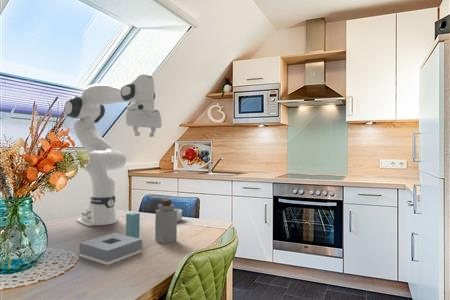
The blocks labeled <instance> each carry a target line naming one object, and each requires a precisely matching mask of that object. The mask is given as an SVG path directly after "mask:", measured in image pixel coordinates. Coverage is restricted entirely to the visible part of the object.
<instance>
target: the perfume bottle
mask: <svg viewBox="0 0 450 300" xmlns="http://www.w3.org/2000/svg"><path fill="white" fill-rule="evenodd" d="M160 203H161V204H157V207H158V209H155V219H154V220H155V221H154V222H155V227H154V228H155V230H154V231H155V234H154V236H155V237H154V240H155V241H156V242H158V243H159V244H162V245H165V244H170V243H174V242H177V240H178V239H177V233H178V231H177V228H178V227H177V225H178V224H177V223H178V222H177V210H174V209H175V205H174V204H172V199H168V198H167V199H161V200H160Z"/></svg>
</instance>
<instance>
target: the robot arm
mask: <svg viewBox="0 0 450 300" xmlns="http://www.w3.org/2000/svg"><path fill="white" fill-rule="evenodd" d="M155 99H156V92H155V81H154V78H153V77H152V76H151V75H148V74H144V73H143V74H142V73H138V74H137V75H136V76H135V78H134V79H132V80H130V81H129V82H125V83H123V85H122V86H121V88H119V87H116V86H113V85H109V84H104V83H95V84H91V85H88V86H86V87H84V89H83V91H82V93H81V96H78V95H75V96H73V97H72V98H70V99H68V100H67V101H66V102H65V103H64V108H65V109H64V108H63V109H64V113H65V115H66V116H67V117H69V118H71V119H76V121H75V123H74V124H73V128H74V132H75V135H76V137H77V139H78V140H79V143H80V144H81V145H82V147H83V149H84V150H85V152H88V154H89V157H90V163H89V164H88V165H87V166H86V167H85V168H82V169H83V170H84V171H85V172H87V174H88V175H89V177H90V179H91V184H92V196H90V197H89V200H90V202H89V204H88V205H87V206H86V207H85V208H83V210H82V212H81V217H79V218H78V219H76V222H78V223H80V224H81V225H85V226H88V227H91V226H93V227H94V226H108V225H113V224H115V223H117V222H118V220H119V216H118V214H117V205H116V199H117V198H116V195H115V193H116V192H115V191H116V190H115V187H116V186H115V185H116V183H115V180H114V179H113V178H111V177H109V176H108V173H107V171H115V170H119V169H122V168H123V167H125V165H126V162H127V158H126V155H125V154H124V152H122V151H120V150H118V149H116V148H114V146H111V144H109V143H108V142H107V141H106V140H105V139H104V138H103V136H102V134H101V133H100V132H99V130H98V129H97V127H96V125H95V124H96V123H97V124H98V123H99V122H100V120H102V119H103V118H104V116H105V114H106V108H105V105H110V104H117V103H124V102H125V103H132V104H129V105H127V106H126V110H127V111H126V115H125V124H126V125H127V126H128V127H132V130H133V132H134V136H135V137H140V136H141V132H140V131H139V128H150V131H151V132H150V133H149V135H148V136H149V138H154V137H155V132H156V130H157V129H160V128H162V118H161V117H162V116H161V112H160V111H159V110H158V109H155ZM77 119H78V120H77Z"/></svg>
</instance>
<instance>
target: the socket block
mask: <svg viewBox="0 0 450 300" xmlns="http://www.w3.org/2000/svg"><path fill="white" fill-rule="evenodd" d="M140 253H143V238H140V237H139V238H135V237H130V236H126V234H120V233H118V232H117V233H116V232H113V233H109V234H106V235H103V236H99V237H95V238H91V239H88V240H84V241H81V242H79V257H81V258H84V259H87V260H90V261H93V262H97V263H100V264H103V265H106V266H108V265H111V264H112V265H113V264H114V263H117V262H119V261H122V260H124V259H125V260H126V259H127V258H130V257H132V256H134V255H138V254H140Z"/></svg>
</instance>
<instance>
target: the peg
mask: <svg viewBox="0 0 450 300" xmlns="http://www.w3.org/2000/svg"><path fill="white" fill-rule="evenodd" d="M140 214H141V213H139V212H128V213H126V214H125V235H126V236H130V237H135V238H139V239H140V231H141V230H140V228H141V227H140V225H141V224H140V218H141V215H140Z"/></svg>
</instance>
